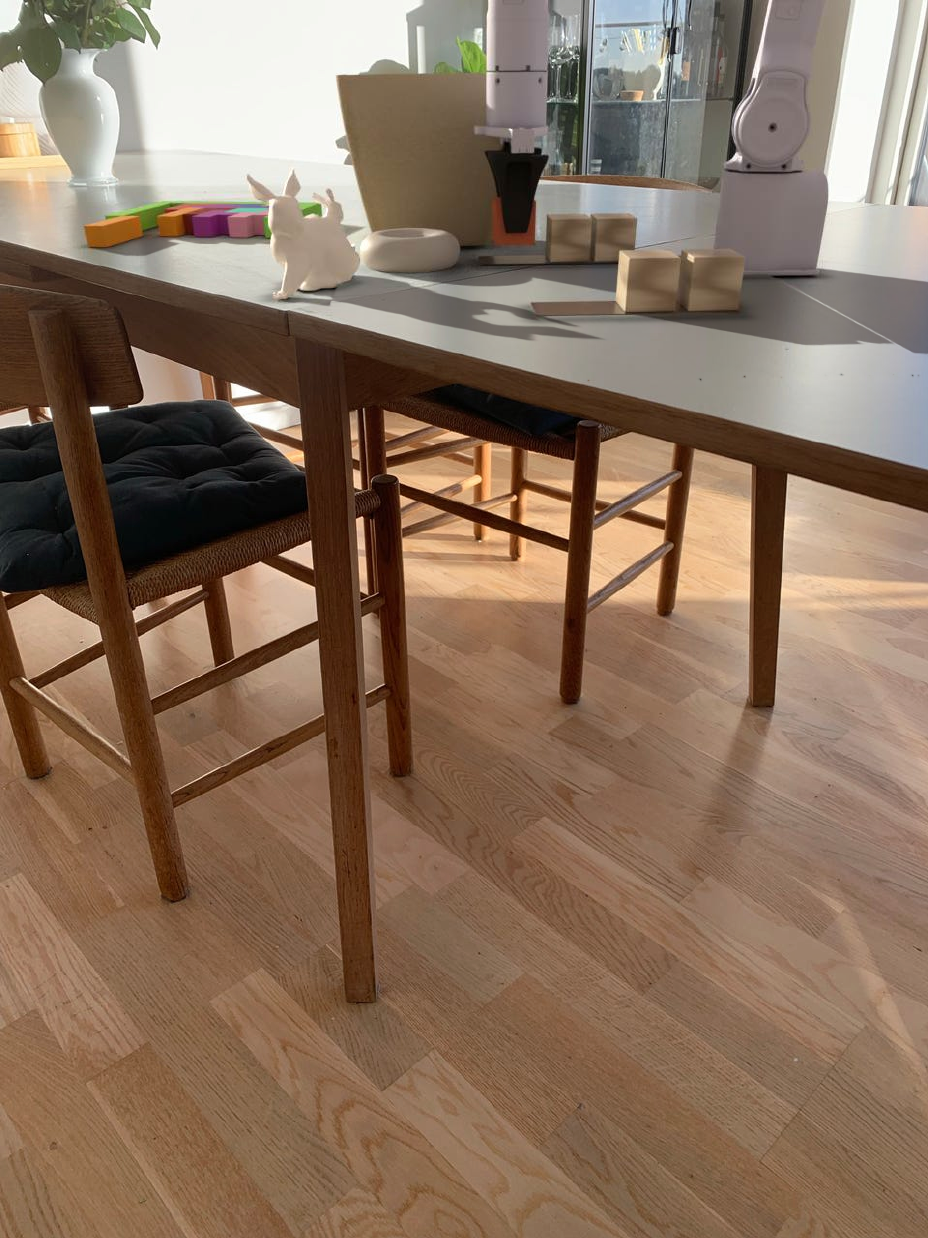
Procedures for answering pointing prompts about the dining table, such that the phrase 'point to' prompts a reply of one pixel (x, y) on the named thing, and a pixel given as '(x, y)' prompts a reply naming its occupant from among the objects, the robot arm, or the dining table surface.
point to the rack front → (665, 285)
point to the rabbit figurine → (307, 240)
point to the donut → (410, 250)
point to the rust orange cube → (510, 238)
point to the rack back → (578, 241)
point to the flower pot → (421, 151)
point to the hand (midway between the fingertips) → (514, 229)
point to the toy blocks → (187, 220)
